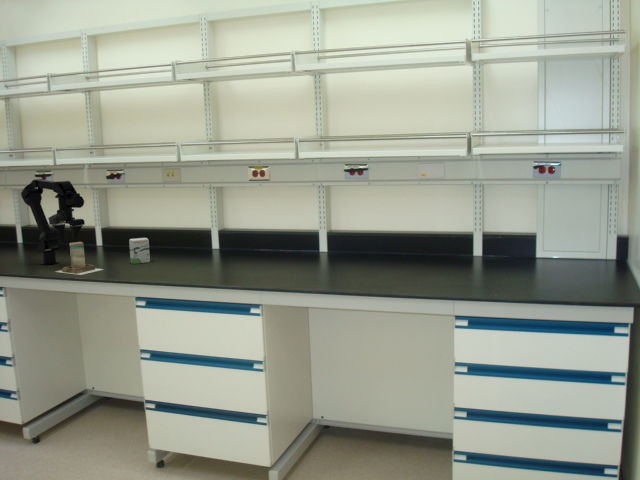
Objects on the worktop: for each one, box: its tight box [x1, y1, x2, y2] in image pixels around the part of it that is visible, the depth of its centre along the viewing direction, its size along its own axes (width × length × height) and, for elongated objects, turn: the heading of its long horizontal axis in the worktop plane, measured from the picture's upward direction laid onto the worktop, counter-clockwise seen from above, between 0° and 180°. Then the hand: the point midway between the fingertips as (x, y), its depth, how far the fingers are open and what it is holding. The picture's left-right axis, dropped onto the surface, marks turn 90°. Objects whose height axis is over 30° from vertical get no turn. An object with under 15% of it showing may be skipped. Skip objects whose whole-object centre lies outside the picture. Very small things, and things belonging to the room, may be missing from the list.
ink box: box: [128, 237, 151, 265], centre depth 288 cm, size 9×5×12 cm, turn 123°
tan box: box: [69, 241, 86, 269], centre depth 269 cm, size 4×5×13 cm
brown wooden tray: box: [61, 263, 96, 275], centre depth 270 cm, size 10×10×2 cm
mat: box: [54, 267, 105, 276], centre depth 271 cm, size 18×13×1 cm
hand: (68, 239), depth 282 cm, fingers open, 9 cm apart
